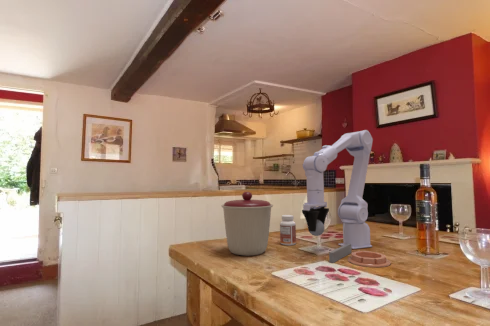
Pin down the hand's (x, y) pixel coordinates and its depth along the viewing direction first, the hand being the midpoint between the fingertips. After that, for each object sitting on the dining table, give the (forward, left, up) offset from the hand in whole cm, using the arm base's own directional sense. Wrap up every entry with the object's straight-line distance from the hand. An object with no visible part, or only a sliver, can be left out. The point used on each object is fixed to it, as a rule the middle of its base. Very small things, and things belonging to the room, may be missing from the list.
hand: (316, 230), depth 100 cm
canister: (+21, -11, -8) cm, 25 cm away
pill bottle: (+1, -17, -8) cm, 19 cm away
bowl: (-8, +15, -8) cm, 19 cm away
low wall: (-4, +8, -8) cm, 12 cm away
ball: (0, 0, +1) cm, 1 cm away
